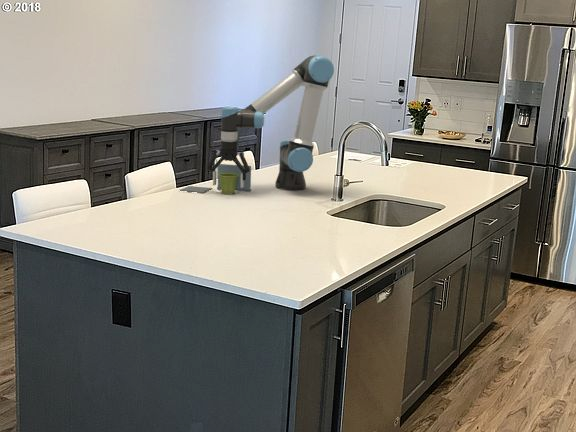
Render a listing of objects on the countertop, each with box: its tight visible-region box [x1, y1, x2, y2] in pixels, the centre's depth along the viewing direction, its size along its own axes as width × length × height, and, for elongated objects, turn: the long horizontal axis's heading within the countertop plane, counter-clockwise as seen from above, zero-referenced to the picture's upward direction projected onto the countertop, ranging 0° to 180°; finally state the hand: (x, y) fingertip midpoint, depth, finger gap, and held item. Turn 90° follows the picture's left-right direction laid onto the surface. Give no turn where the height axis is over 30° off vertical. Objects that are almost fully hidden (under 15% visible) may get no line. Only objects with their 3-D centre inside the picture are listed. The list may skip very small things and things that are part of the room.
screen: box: [216, 163, 252, 193], centre depth 366 cm, size 16×3×12 cm, turn 75°
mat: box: [179, 185, 213, 194], centre depth 363 cm, size 12×12×1 cm
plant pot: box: [217, 173, 239, 195], centre depth 358 cm, size 9×9×9 cm
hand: (228, 186), depth 358 cm, fingers open, 13 cm apart
